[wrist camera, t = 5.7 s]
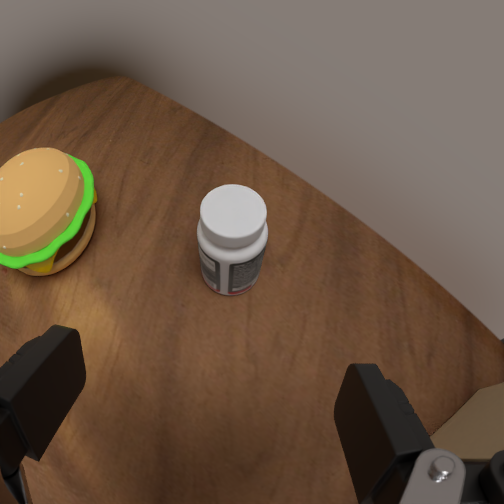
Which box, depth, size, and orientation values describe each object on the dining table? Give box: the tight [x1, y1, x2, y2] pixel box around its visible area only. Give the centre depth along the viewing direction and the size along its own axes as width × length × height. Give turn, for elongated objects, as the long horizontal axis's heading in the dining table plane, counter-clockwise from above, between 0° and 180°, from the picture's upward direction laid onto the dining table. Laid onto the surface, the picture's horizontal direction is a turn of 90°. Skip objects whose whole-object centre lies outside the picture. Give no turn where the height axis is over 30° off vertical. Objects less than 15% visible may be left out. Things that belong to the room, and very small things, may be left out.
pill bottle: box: [197, 184, 268, 295], centre depth 22 cm, size 5×5×8 cm
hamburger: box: [0, 148, 97, 276], centre depth 22 cm, size 12×12×9 cm
